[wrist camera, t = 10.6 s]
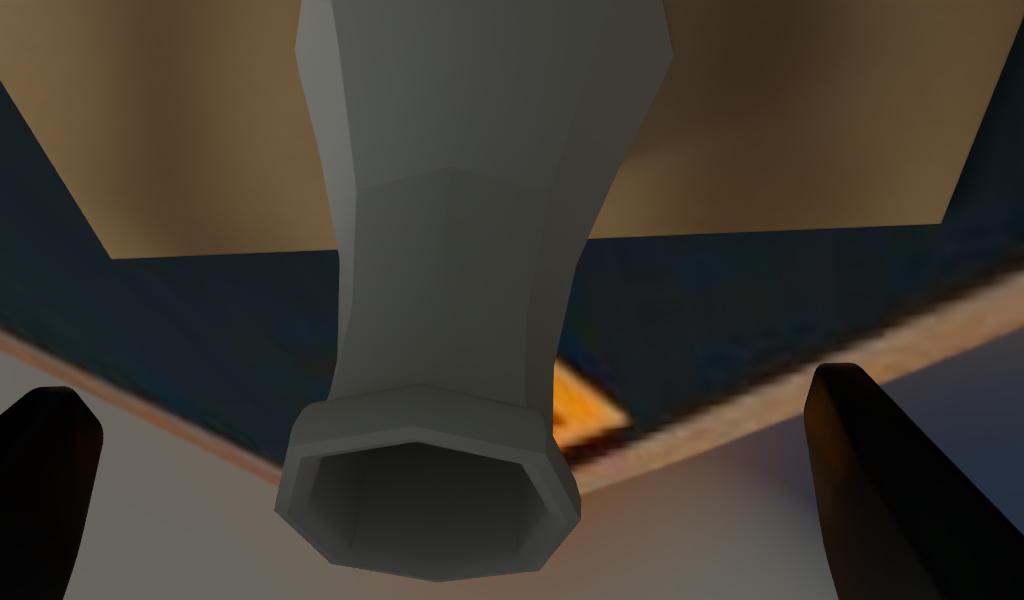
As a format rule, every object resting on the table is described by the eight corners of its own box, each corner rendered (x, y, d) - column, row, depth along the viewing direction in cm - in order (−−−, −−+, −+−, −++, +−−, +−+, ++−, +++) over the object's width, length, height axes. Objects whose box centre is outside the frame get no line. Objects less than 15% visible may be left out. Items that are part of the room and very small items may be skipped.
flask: (648, 197, 18) (713, 658, 11) (329, 191, 18) (185, 639, 11) (706, -163, 12) (908, 273, 5) (253, -167, 12) (-122, 250, 6)
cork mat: (1146, -340, 11) (1165, -334, 11) (933, 210, 18) (941, 224, 18) (-156, -208, 13) (-176, -200, 12) (118, 246, 20) (110, 260, 20)
